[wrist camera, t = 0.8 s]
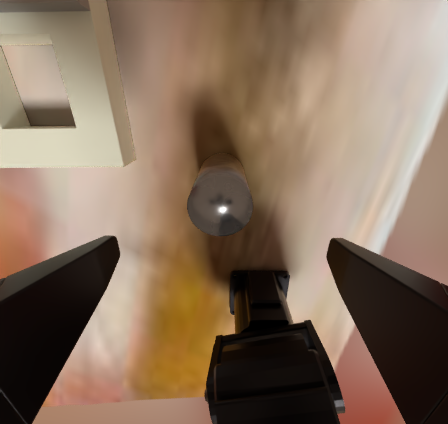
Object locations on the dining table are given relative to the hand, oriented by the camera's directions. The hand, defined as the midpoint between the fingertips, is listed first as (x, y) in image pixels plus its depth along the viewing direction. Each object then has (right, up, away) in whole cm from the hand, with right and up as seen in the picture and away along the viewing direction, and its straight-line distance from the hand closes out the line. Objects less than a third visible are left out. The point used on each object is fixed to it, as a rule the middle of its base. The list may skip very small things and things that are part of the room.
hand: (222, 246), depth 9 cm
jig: (-13, +11, +7) cm, 19 cm away
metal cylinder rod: (0, +5, +10) cm, 11 cm away
